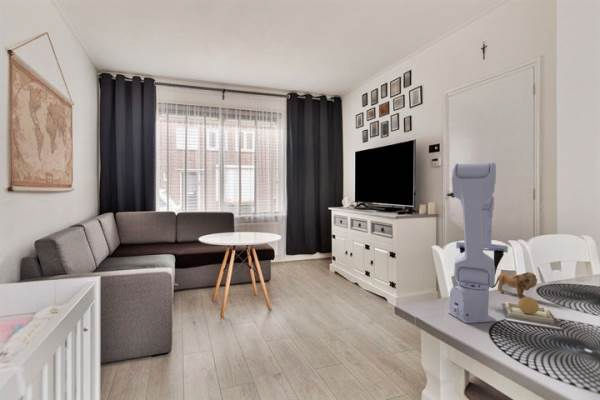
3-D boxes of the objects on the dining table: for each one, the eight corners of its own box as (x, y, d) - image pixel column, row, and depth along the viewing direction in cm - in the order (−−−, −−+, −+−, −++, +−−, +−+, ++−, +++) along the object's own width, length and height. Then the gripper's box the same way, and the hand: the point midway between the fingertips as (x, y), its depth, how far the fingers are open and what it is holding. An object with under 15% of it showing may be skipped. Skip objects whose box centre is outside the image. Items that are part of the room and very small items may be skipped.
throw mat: (561, 331, 81) (561, 326, 81) (506, 321, 87) (506, 316, 87) (548, 311, 95) (549, 306, 95) (501, 304, 101) (501, 300, 101)
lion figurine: (539, 299, 105) (540, 272, 105) (532, 302, 103) (533, 274, 102) (493, 287, 118) (494, 264, 118) (486, 290, 115) (486, 265, 115)
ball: (527, 317, 89) (529, 300, 89) (513, 310, 94) (514, 294, 94) (542, 316, 90) (543, 300, 90) (527, 310, 95) (528, 294, 95)
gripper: (506, 230, 103) (505, 272, 104) (457, 228, 110) (456, 266, 111) (508, 233, 97) (507, 277, 98) (456, 230, 104) (455, 271, 105)
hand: (480, 272), depth 104 cm, fingers open, 7 cm apart
